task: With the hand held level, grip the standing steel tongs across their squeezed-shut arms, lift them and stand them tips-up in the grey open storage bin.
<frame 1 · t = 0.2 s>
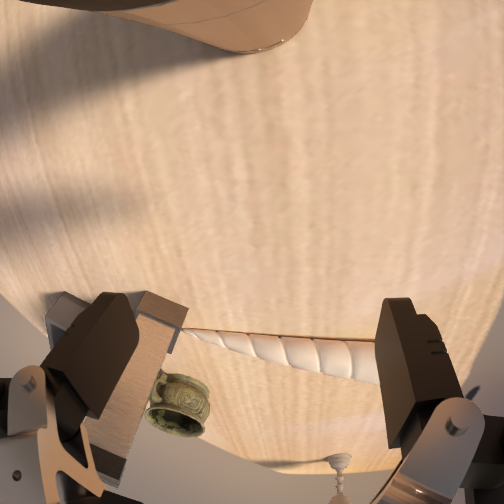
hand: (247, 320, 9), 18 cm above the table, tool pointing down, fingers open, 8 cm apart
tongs: (163, 314, 34), on the table
grey open storage bin: (94, 329, 38), on the table
vessel: (185, 387, 43), on the table
unicorn horn: (292, 342, 35), on the table
chalice: (339, 457, 52), on the table
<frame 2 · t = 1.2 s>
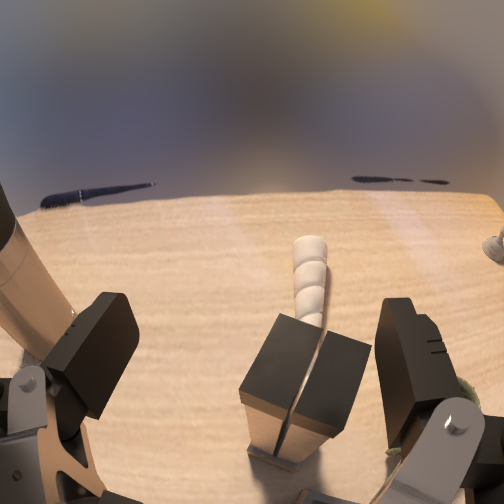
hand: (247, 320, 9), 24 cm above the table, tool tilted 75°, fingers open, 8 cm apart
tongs: (281, 442, 27), on the table
vessel: (419, 429, 26), on the table
unicorn horn: (309, 324, 37), on the table
chalice: (492, 251, 44), on the table
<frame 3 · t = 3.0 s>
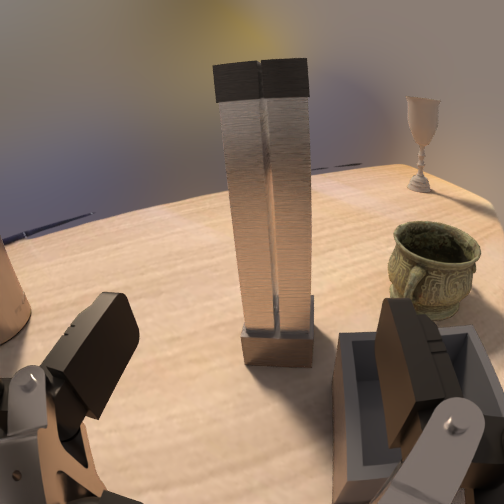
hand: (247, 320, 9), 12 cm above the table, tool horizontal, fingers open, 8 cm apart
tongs: (281, 343, 25), on the table
grey open storage bin: (404, 434, 16), on the table
vessel: (424, 298, 28), on the table
chalice: (418, 189, 55), on the table
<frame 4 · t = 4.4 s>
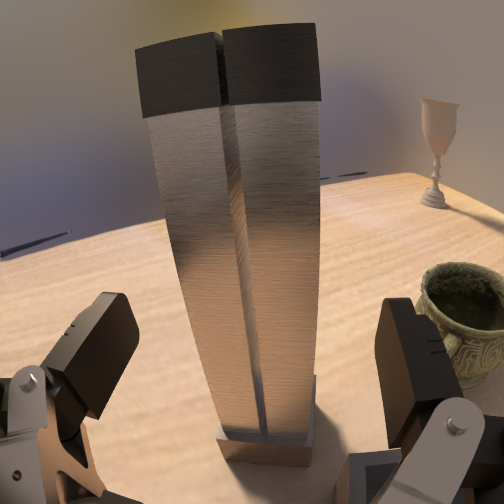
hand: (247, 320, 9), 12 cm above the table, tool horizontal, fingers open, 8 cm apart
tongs: (271, 430, 17), on the table
vessel: (450, 356, 21), on the table
chalice: (433, 203, 48), on the table
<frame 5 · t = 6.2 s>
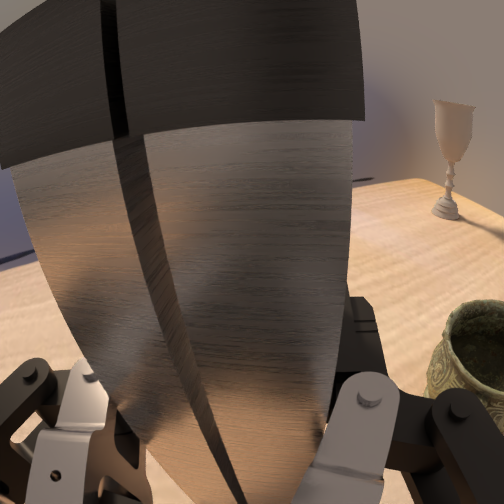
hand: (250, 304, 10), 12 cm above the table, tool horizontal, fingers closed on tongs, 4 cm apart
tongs: (262, 499, 13), on the table, touching gripper
vessel: (468, 404, 16), on the table
chalice: (445, 214, 44), on the table
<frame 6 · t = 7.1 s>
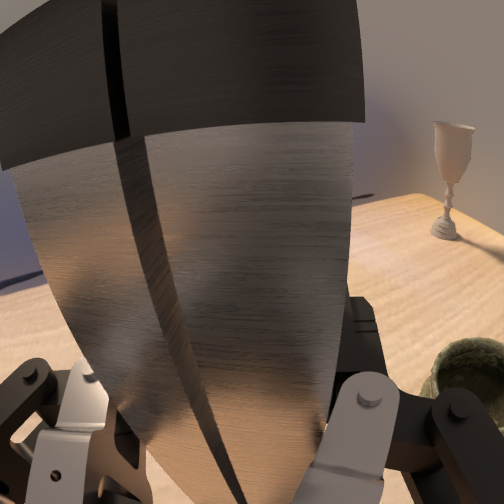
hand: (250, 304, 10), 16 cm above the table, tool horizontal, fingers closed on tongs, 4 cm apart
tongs: (262, 500, 13), point 4 cm above the table, touching gripper
vessel: (454, 429, 18), on the table
chalice: (443, 233, 45), on the table
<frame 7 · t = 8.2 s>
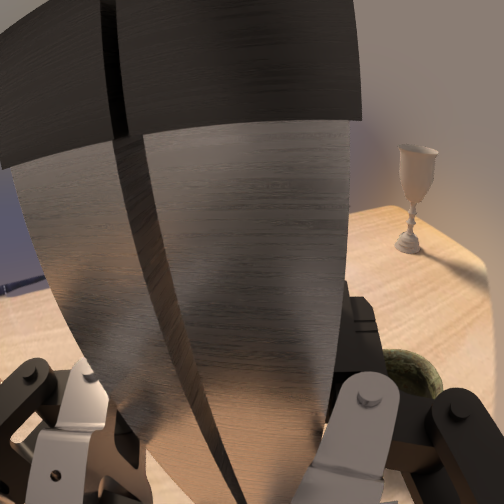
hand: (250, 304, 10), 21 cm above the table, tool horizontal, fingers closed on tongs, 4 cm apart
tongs: (261, 500, 13), point 9 cm above the table, touching gripper
vessel: (379, 422, 25), on the table
chalice: (407, 247, 53), on the table
when the fingers open (14 cm above the table, at t = 10.8 s): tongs stays where it is, resting on grey open storage bin.
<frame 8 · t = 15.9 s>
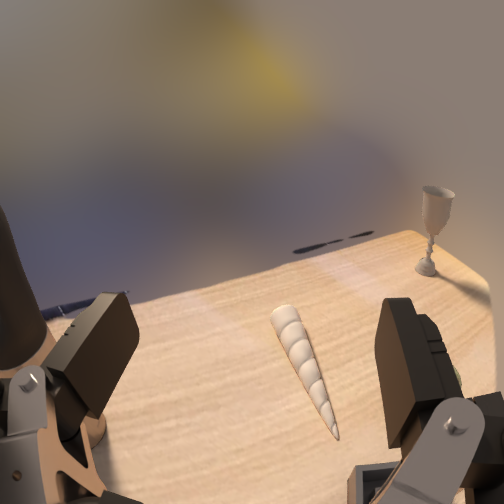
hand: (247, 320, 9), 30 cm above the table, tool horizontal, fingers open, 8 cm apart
unicorn horn: (306, 371, 44), on the table
chalice: (425, 270, 62), on the table
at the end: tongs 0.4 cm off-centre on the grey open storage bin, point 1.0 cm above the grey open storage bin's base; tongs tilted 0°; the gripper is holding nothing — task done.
